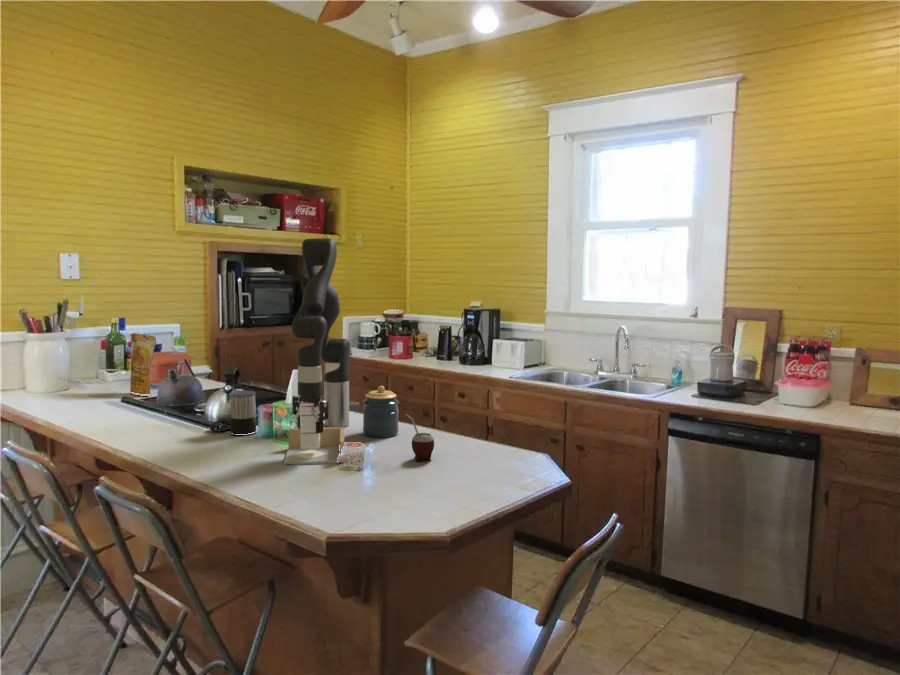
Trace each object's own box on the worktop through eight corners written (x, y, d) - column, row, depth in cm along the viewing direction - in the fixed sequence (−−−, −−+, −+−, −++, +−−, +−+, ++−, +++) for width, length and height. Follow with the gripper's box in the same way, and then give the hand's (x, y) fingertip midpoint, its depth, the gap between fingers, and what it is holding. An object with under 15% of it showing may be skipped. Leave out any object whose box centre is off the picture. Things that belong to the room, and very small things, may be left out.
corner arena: (289, 448, 212) (288, 428, 211) (344, 447, 215) (344, 427, 214) (283, 464, 194) (283, 442, 194) (343, 463, 197) (343, 441, 196)
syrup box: (319, 448, 200) (319, 403, 199) (299, 449, 199) (299, 403, 198) (320, 444, 206) (320, 399, 204) (301, 444, 205) (301, 399, 203)
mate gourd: (438, 459, 203) (438, 412, 201) (423, 465, 196) (423, 416, 195) (419, 455, 207) (419, 409, 206) (404, 460, 201) (404, 413, 199)
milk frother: (257, 435, 228) (257, 394, 227) (210, 439, 223) (209, 396, 221) (254, 426, 241) (254, 387, 240) (210, 429, 236) (209, 389, 234)
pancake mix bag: (139, 391, 306) (137, 332, 303) (159, 396, 294) (157, 335, 291) (125, 392, 301) (122, 333, 298) (144, 398, 289) (142, 336, 286)
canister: (381, 440, 224) (381, 390, 223) (355, 434, 232) (355, 386, 230) (406, 433, 235) (406, 385, 233) (380, 427, 242) (380, 381, 241)
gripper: (334, 380, 199) (334, 432, 201) (303, 375, 207) (304, 425, 209) (316, 383, 193) (316, 437, 195) (285, 378, 201) (285, 429, 203)
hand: (310, 430), depth 202 cm, fingers closed on syrup box, 8 cm apart
